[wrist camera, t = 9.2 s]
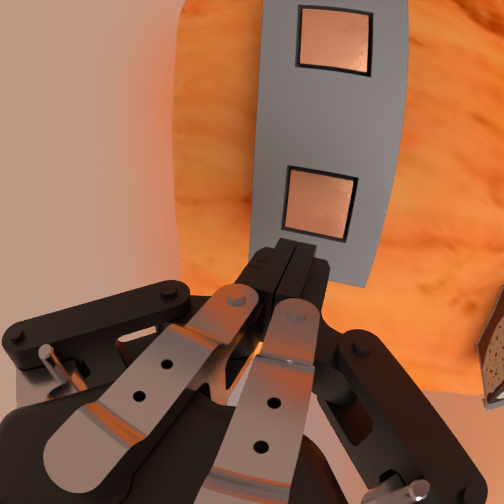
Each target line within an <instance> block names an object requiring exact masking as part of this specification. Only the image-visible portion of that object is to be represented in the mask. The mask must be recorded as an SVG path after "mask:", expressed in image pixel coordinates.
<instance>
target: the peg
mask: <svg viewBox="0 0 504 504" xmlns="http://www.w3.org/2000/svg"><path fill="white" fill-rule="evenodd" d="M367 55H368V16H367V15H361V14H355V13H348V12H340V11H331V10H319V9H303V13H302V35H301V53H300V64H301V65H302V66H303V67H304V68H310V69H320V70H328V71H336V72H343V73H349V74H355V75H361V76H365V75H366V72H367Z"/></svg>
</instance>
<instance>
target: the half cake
mask: <svg viewBox="0 0 504 504" xmlns="http://www.w3.org/2000/svg"><path fill="white" fill-rule="evenodd" d="M476 348H477V353H478V358H479V363H480V368H481V374H482V381H483V388H484V395H485V398H483V399H482V401H483V403H484V407H486V410H487V411H488V410H493V409H497V408H500V407H503V406H504V285H503V286H502V289H501V291H500V294H499V296H498V299H497V301H496V304H495V306H494V308H493V311H492V313H491V315H490V317H489V319H488V321H487V324H486V326H485V328H484V330H483V332H482V334H481V336H480V338H479V340H478V341H477V343H476Z"/></svg>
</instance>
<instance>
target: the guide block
mask: <svg viewBox="0 0 504 504" xmlns="http://www.w3.org/2000/svg"><path fill="white" fill-rule="evenodd" d="M303 9H319V10H331V11H340V12H348V13H355V14H361V15H367V16H368V55H367V72H366V76H361V75H355V74H349V73H343V72H336V71H328V70H320V69H310V68H304V67H303V66H302V65H301V64H300V53H301V35H302V13H303ZM408 53H409V17H408V0H264V1H263V17H262V34H261V50H260V67H259V84H258V101H257V118H256V136H255V153H254V171H253V189H252V207H251V225H250V243H249V261H250V260H251V258H252V257H253V255H254V254H255V253H256V251H258V250H260V249H262V248H264V247H265V246H266V247H270V248H274V247H275V246H276V244H277V242H278V241H279V239H280V238H285V239H290V240H295V241H298V243H299V242H304V243H309V244H313V245H317V249H316V254H315V257H316V258H320V259H325V260H327V261H328V264H329V266H330V268H331V269H330V273H329V278H328V280H329V281H334V282H338V283H343V284H347V285H352V286H356V287H361V288H365V286H366V283H367V280H368V277H369V274H370V270H371V267H372V264H373V260H374V257H375V254H376V250H377V247H378V243H379V239H380V236H381V232H382V228H383V224H384V220H385V216H386V212H387V208H388V203H389V199H390V195H391V190H392V185H393V180H394V175H395V170H396V164H397V159H398V153H399V147H400V140H401V133H402V126H403V118H404V110H405V100H406V89H407V75H408ZM295 166H298V167H304V168H310V169H316V170H322V171H327V172H332V173H338V174H343V175H348V176H353V177H354V179H353V187H352V193H351V198H350V204H349V209H348V214H347V219H346V224H345V229H344V234H343V238H338V237H333V236H328V235H324V234H319V233H314V232H309V231H304V230H300V229H295V228H290V227H285V224H286V215H287V206H288V197H289V187H290V177H291V170H292V169H293V168H294V167H295Z"/></svg>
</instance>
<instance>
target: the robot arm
mask: <svg viewBox="0 0 504 504" xmlns="http://www.w3.org/2000/svg"><path fill="white" fill-rule="evenodd" d="M316 249H317V245H313V244H309V243H304V242H299V243H298V241H295V240H290V239H285V238H280V239H279V241H278V242H277V244H276V246H275V247H274V248H270V247H266V246H265V247H264V248H262V249H260V250H258V251H256V253H255V254H254V255H253V257H252V258H251V260H250V261H249V263H248V264H247V266H246V267H245V268H244V270H243V271H242V273H241V274H240V276H239V277H238V278H237V280H236V281H235V283H234V284H228V285H225V286H223V287H221V288H219V289H218V290H217V291H216V292H215V293H214V294H213V295H212V296H194V295H190V290H189V287H188V286H187V285H186V284H185V283H183V282H180V281H176V280H166V281H162V282H158V283H155V284H151V285H148V286H144V287H141V288H137V289H134V290H130V291H127V292H124V293H120V294H116V295H113V296H109V297H106V298H102V299H99V300H95V301H92V302H88V303H85V304H81V305H78V306H74V307H71V308H67V309H63V310H60V311H56V312H53V313H49V314H45V315H42V316H39V317H35V318H32V319H28V320H24V321H20V322H17V323H15V324H13V325H12V326H10V327H9V328H8V329H7V330H6V332H5V333H4V335H3V338H2V346H3V348H4V350H5V351H6V353H7V354H8V355H9V357H10V358H11V360H12V361H13V363H14V365H15V367H16V398H17V409H15V410H13V411H12V412H10V413H9V414H7V415H6V416H5V417H4V419H3V420H2V422H1V423H0V504H348V502H347V500H346V498H345V496H344V494H343V492H342V490H341V488H340V486H339V484H338V482H337V480H336V478H335V476H334V474H333V472H332V470H331V468H330V466H329V464H328V462H327V460H326V458H325V456H324V454H323V453H322V452H321V450H320V449H319V448H318V447H317V445H316V444H315V443H314V442H313V441H311V440H310V439H309V438H308V437H307V436H305V435H304V434H303V431H304V426H305V422H306V416H307V412H308V406H309V401H310V396H311V392H313V393H314V394H316V395H317V400H318V402H319V404H320V406H321V408H322V410H323V411H324V413H325V415H326V417H327V419H328V420H329V422H330V424H331V426H332V427H333V429H334V431H335V433H336V435H337V436H338V438H339V440H340V442H341V443H342V445H343V447H344V448H345V450H346V452H347V453H348V455H349V457H350V459H351V461H352V462H353V464H354V466H355V467H356V469H357V471H358V473H359V474H360V476H361V478H362V479H363V481H364V483H365V485H366V486H367V488H368V489H369V490H368V492H367V493H366V494H365V495H364V497H363V498H362V501H361V504H485V502H486V499H487V494H488V488H487V484H486V481H485V479H484V478H483V476H482V475H481V473H480V472H479V471H478V469H477V467H476V466H475V464H474V463H473V461H472V460H471V459H470V457H469V456H468V454H467V453H466V451H465V450H464V448H463V447H462V446H461V444H460V443H459V442H458V440H457V439H456V437H455V436H454V435H453V433H452V432H451V430H450V429H449V428H448V426H447V425H446V424H445V422H444V421H443V419H442V418H441V417H440V415H439V414H438V413H437V411H436V410H435V409H434V407H433V406H432V405H431V403H430V402H429V401H428V399H427V398H426V397H425V396H424V394H423V393H422V392H421V390H420V389H419V388H418V386H417V385H416V384H415V383H414V381H413V380H412V379H411V377H410V376H409V375H408V374H407V372H406V371H405V370H404V369H403V367H402V366H401V365H400V364H399V362H398V361H397V360H396V359H395V357H394V356H393V355H392V354H391V352H390V351H389V350H388V349H387V348H386V346H385V345H384V344H383V343H382V341H381V340H380V339H379V338H378V337H377V336H376V335H374V334H373V333H371V332H368V331H365V330H361V329H354V330H349V331H347V332H345V333H344V334H342V333H340V332H338V331H336V330H334V329H332V328H331V327H330V326H328V325H327V324H326V322H325V321H324V320H323V318H322V315H321V309H322V305H323V301H324V296H325V292H326V287H327V283H328V278H329V273H330V269H331V268H330V266H329V264H328V261H327V260H325V259H320V258H316V257H315V254H316ZM152 326H155V328H156V331H157V332H156V333H153V334H150V335H147V336H144V337H140V338H137V339H134V340H131V341H128V342H120V341H118V340H117V339H118V338H119V337H121V336H123V335H126V334H130V333H133V332H136V331H140V330H142V329H146V328H149V327H152ZM259 341H260V342H263V345H262V348H261V351H260V353H259V355H258V354H257V355H256V356H255V358H254V360H253V363H252V366H251V369H250V371H249V374H248V377H247V379H246V382H245V385H244V388H243V390H242V393H241V396H240V398H239V401H238V404H237V406H236V407H235V406H227V402H228V399H229V397H230V395H231V393H232V392H233V390H234V389H235V387H236V385H237V384H238V382H239V380H240V379H241V377H242V375H243V374H244V372H245V370H246V369H247V367H248V366H249V364H250V362H251V360H252V359H253V356H254V351H255V349H256V347H257V345H258V343H259Z"/></svg>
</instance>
